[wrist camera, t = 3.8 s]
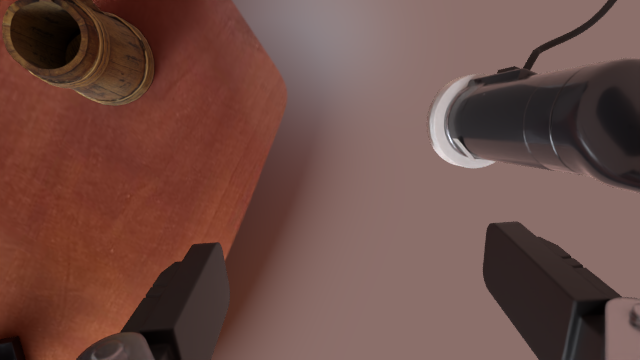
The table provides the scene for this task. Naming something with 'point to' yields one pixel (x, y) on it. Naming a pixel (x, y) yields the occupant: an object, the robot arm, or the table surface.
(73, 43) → the wooden mug
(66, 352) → the table surface
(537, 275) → the robot arm
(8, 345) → the switch stand
